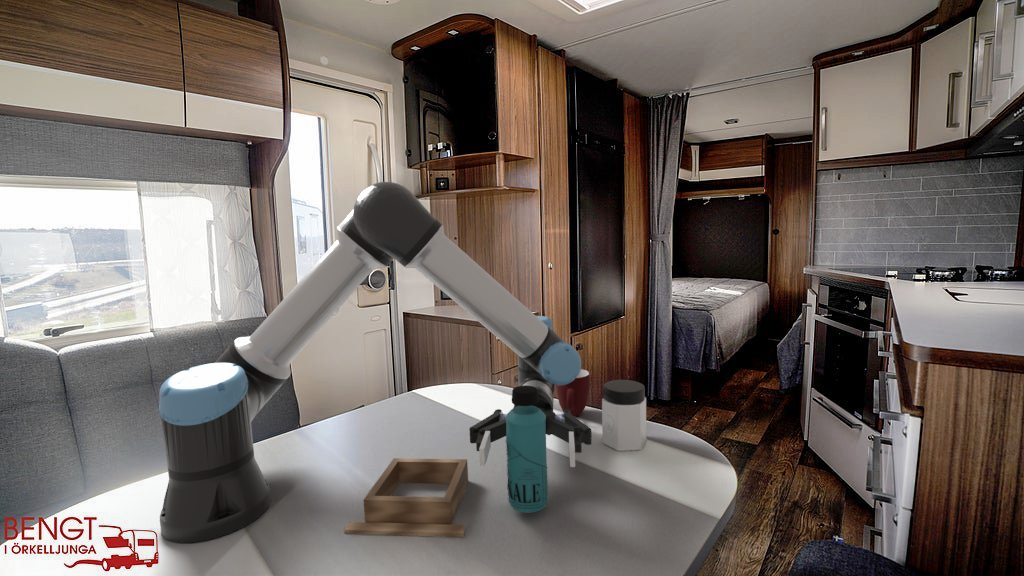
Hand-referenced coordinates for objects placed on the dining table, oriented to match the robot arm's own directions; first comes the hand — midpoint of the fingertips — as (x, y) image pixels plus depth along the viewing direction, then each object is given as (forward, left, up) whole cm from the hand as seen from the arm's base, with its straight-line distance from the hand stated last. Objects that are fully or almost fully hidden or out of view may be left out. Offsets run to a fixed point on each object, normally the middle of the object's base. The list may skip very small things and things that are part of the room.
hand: (526, 458), depth 72 cm
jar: (+18, +27, -10) cm, 34 cm away
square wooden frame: (-18, +3, -10) cm, 21 cm away
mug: (+8, +41, -10) cm, 43 cm away
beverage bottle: (0, +2, -10) cm, 10 cm away
